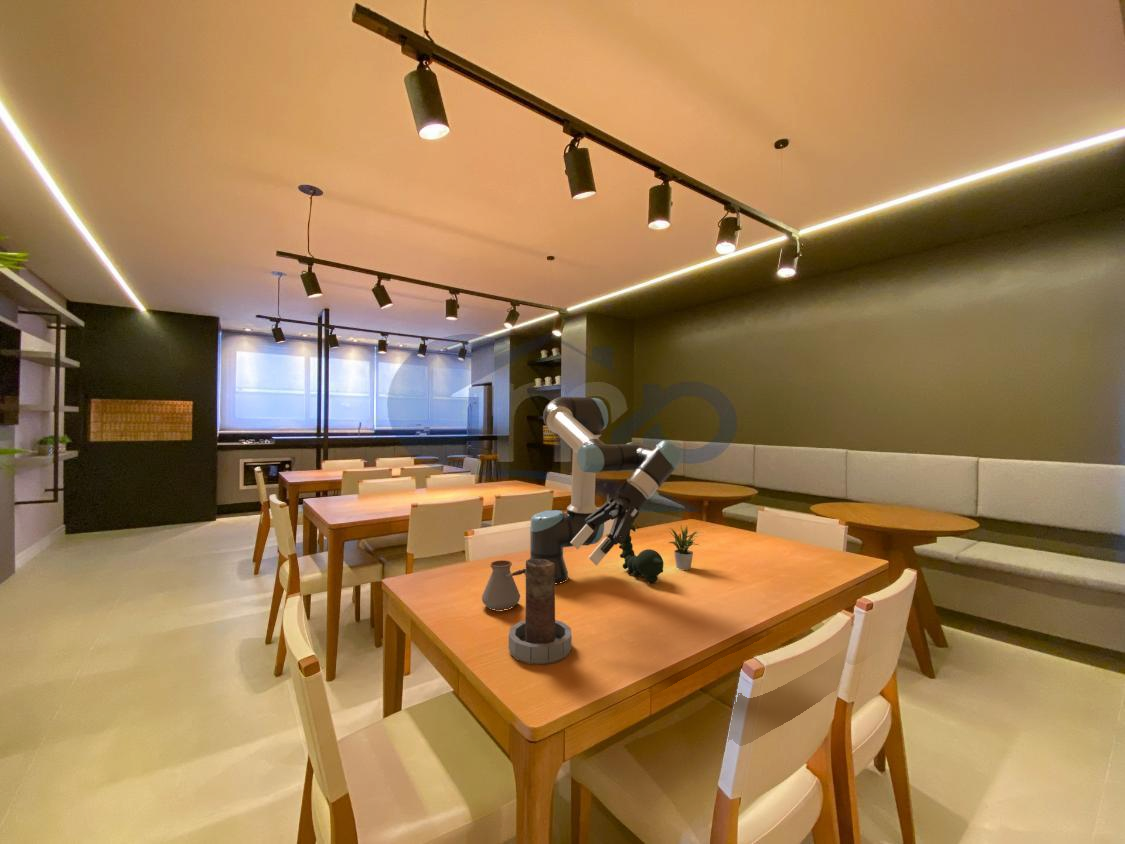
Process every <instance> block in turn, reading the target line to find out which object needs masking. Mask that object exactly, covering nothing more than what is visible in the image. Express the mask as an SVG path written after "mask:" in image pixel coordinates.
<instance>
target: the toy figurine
mask: <svg viewBox="0 0 1125 844" xmlns="http://www.w3.org/2000/svg"><path fill="white" fill-rule="evenodd" d="M631 531H633V532H634V533H635V532H636V526H635V525H634V523H633V524H632V526H631V528H630V530H629V532H628V534H627V536H626V539H625V541H624V543H623V544H622V545H620V544H619V545H618V548H619V549H621V550H622V552H621V553H620V554H619V557H620V558H621V559H624V563H623V564H622V568H623V569H624V570H627V571H626V573H627V574H628V575H629V574H631V575H632V576H633V577H634V578H637V579H638V578H639V577H640V576H643V577H645V578H646V579H645V580H646V582H647V584H655V583H657V582H658V581H659V577H658V576H659V575H660V574H663V572H664V560H663V557H662V556H661V554H660V553H659V552H657V551H656V550H655V549H651V548H649V549H647V548H646V549H644V550H642V551H641V552H639V554H638V555H635V551H634V548H633V543H632V536H631ZM620 538H621V536H620Z"/></svg>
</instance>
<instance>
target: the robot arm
mask: <svg viewBox="0 0 1125 844" xmlns="http://www.w3.org/2000/svg"><path fill="white" fill-rule="evenodd" d="M542 413H543V414H542V415H543V416H542V419H543V423H544V424H545V426H546V428H547V429H548V430H549V431H550V432H552V433H554V434H557V435H558V436H559V437H560V438H561V439H562V440H563V441H564V442H565V444H567V445H568V446H569V447H570V448H571V449H572V464H571V465H572V466H571V497H570V498H571V500H570V504H569V505H568V506H566V513H564V512H563V511H562V510H559V509H558V510H557V509H555V510H544V511H540V512H538V513H535V514H533V515H532V517H531V518H530V527H529V532H530V539H529V540H530V547H529V548H530V551H529V552H530V557H529V559H545V560H548V561H550V562H552V563H554V564H555V583H560V582H563V581H565V580H567V581H568V579H569V577H568V576H569V572H568V568H567V564H566V562H565V559H564V548H569V547H570V548H572V547H574V548H576V550H579V549H580V548H581V547H582V546H590V545H594V544H598V543H599V544H598V545H597V546H596V548H594V550H593V551H592V552H591V553H590V555H589V556H587V558H588V559H589V560H590V561H591V562H592V563H593V564H594V565H595V566H598V565H599V564H600V562H602V560H603V559H604V558H605V557H606V556H607V554H608V553H609V552H610V551H611V549H612V548H613V547H614V546H615V545H616V546H617V545H618V544H619V545H622V544H623V543H624V541H625V539H626V536H627V534H628V532H629V530H630V528H631V526H632V524H633V525H634V522H635V520H636V519H637V517H638V516H639V515H640V512H639V511H640V510H641V509H642V508H643V507H644V506H645V504H646V503H647V502H648V501H647V500H648V499H650V498H651V497H652V496H653V495H655V494H656V491H657V490H659V489H658V488H660V487H661V485H663V483H664V482H665V481H666V480H667V479H668V478H669V477H670V476H671V474H672V473H673V472H674V471H675V470H676V469H677V467H678V466H679V464H680V463H681V461H683V454H682V452H681V450H680V449H679V448H678V447H677V446H676V445H675V444H673V443H672V442H670V441H668V440H665V439H664V440H661V441H660V442H658V443H657V444H656V445H655V447H654V446H650V445H645V444H643V443H641V442H627V443H625V444H621V443H620V444H615V443H614V444H610V443H609V444H605V443H604V442H603V441H602V440H600V437H601V436H602V431H604V430H605V429H606V428H607V425H608V423H609V412H608V408H607V406H606V404H605V402H604V401H603V400H602V399H601V398H596V397H590V396H589V397H583V396H581V397H579V396H578V397H577V396H575V397H574V396H559V397H557V398H554V399H553V400H550V401H549V403H548V404H547V405H546V406H545V408H544V410H543V412H542ZM607 472H608V473H609V472H611V473H612V472H631V474H630V475H629V476H628V477H627V480H626V481H625V482H623V484H622V485H621V486H620V487H619V488H618V489H617V491H616V494H617V496H618V498H617V499H615V498H614V497H610V498H609V499H607V500H606V502H605V503H603V504H602V505H601V506H599V507H597V506H596V505H595V502H596V501H595V500H596V474H597V473H607ZM610 520H611V521H613V522H612V524H611V525H612V526H611V528H610V531H609V533H607V534H606V536H605V537H604V538H603V535H604V532H605V523H607V522H608V521H610ZM630 531H631V530H630ZM620 537H621V538H620ZM602 538H603V539H602ZM601 540H602V541H601ZM599 541H601V542H599ZM525 575H526V573H525V574H524V578H525V577H526V576H525ZM567 578H568V579H567ZM565 582H566V581H565ZM563 583H564V582H563Z"/></svg>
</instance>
